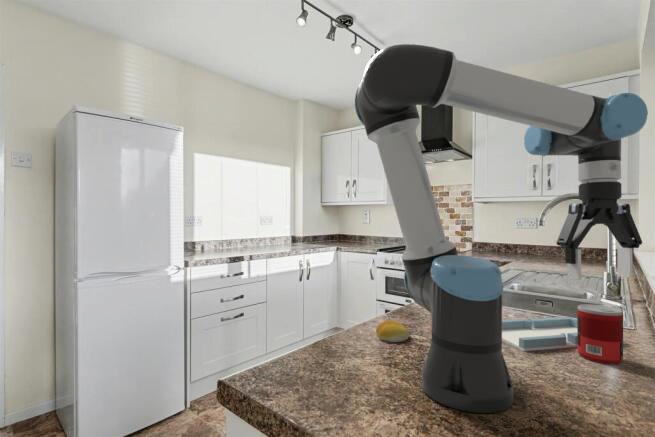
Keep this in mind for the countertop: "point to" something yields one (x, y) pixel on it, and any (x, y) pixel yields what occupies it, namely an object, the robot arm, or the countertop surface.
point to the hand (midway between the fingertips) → (600, 277)
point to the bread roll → (392, 331)
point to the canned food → (600, 333)
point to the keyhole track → (540, 333)
